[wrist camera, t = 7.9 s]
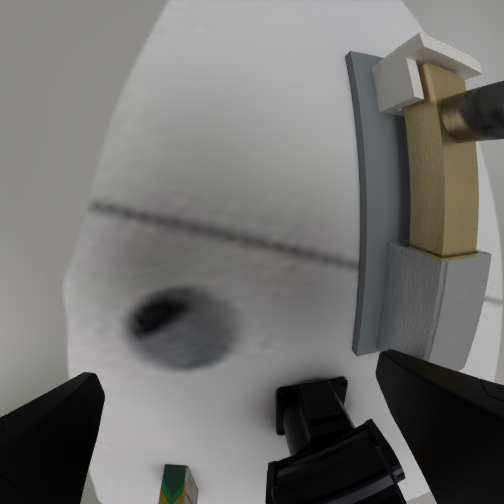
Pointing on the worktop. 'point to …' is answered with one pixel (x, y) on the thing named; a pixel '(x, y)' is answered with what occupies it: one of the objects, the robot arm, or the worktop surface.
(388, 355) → the robot arm
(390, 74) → the socket
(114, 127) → the worktop surface
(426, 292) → the sleeve
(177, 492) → the crayon box
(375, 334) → the board
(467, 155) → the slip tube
